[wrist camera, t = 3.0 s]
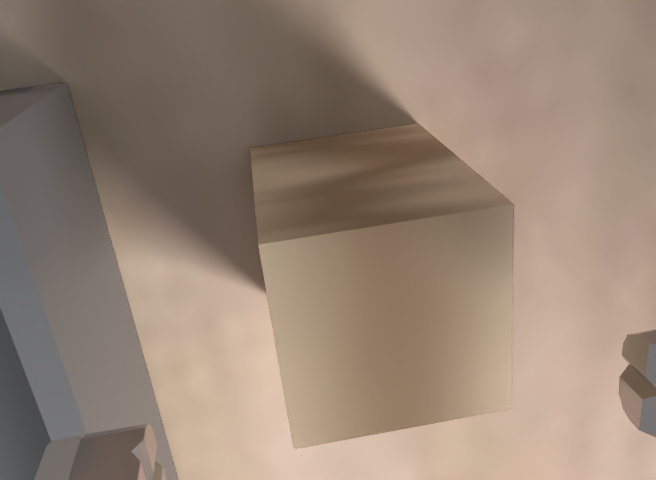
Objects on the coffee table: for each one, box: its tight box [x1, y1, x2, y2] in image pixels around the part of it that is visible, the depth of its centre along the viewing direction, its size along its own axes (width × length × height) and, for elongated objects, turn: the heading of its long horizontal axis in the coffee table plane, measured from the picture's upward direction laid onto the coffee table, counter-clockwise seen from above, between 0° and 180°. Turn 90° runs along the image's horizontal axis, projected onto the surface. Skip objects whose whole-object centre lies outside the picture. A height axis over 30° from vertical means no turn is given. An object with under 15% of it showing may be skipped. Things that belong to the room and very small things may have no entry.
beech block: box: [250, 123, 514, 449], centre depth 16 cm, size 5×5×7 cm
